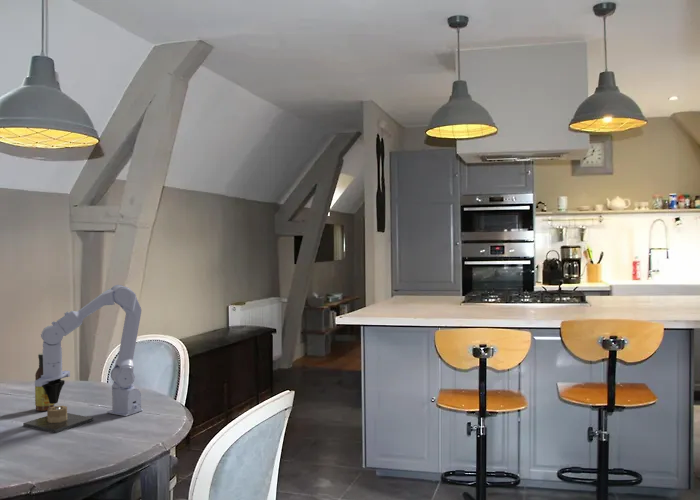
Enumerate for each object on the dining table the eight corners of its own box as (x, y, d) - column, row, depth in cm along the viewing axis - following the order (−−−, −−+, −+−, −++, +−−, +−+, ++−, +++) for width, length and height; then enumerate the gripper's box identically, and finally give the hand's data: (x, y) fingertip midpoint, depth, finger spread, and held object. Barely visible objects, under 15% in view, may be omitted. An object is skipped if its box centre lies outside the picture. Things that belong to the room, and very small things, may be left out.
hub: (92, 420, 210) (92, 404, 210) (55, 432, 198) (55, 415, 197) (61, 414, 217) (60, 399, 217) (23, 426, 205) (22, 409, 205)
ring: (68, 417, 211) (67, 405, 211) (65, 422, 206) (65, 409, 205) (49, 418, 209) (49, 406, 209) (46, 423, 204) (46, 411, 204)
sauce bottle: (47, 412, 221) (45, 355, 220) (31, 411, 222) (29, 355, 221) (59, 407, 227) (57, 352, 226) (44, 406, 228) (42, 351, 228)
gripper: (56, 357, 216) (58, 396, 216) (26, 366, 202) (27, 408, 202) (74, 358, 214) (76, 397, 215) (45, 367, 200) (46, 409, 200)
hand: (53, 403), depth 208 cm, fingers closed
